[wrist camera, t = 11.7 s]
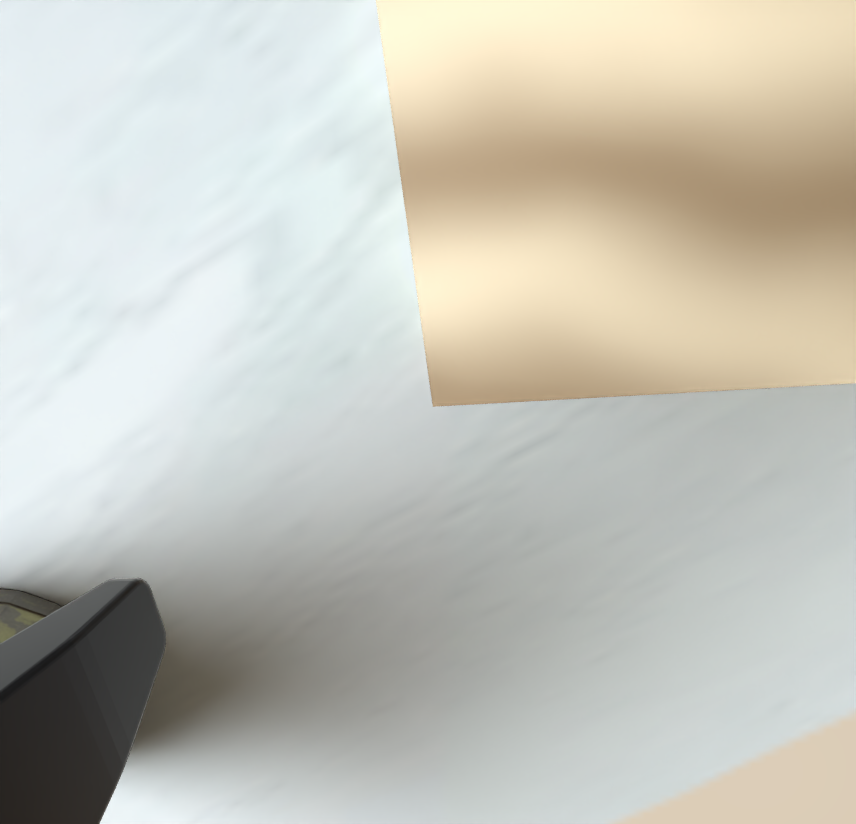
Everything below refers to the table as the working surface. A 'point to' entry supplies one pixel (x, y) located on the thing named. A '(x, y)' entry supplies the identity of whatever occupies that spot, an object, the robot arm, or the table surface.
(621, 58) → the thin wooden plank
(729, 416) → the table surface
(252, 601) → the table surface
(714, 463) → the table surface
